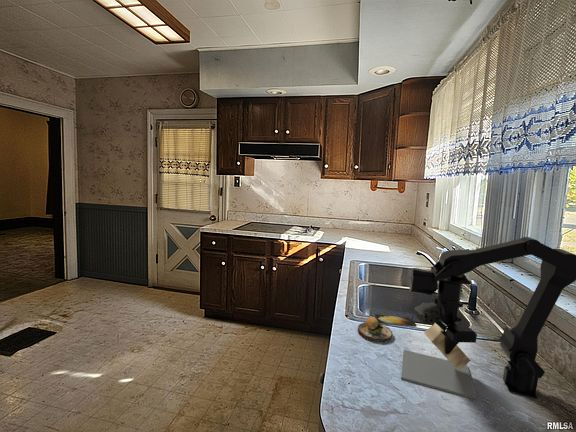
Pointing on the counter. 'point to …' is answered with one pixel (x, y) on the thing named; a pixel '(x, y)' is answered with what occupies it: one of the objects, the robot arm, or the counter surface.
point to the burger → (374, 331)
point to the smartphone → (395, 320)
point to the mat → (437, 374)
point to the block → (438, 340)
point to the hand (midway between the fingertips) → (442, 348)
